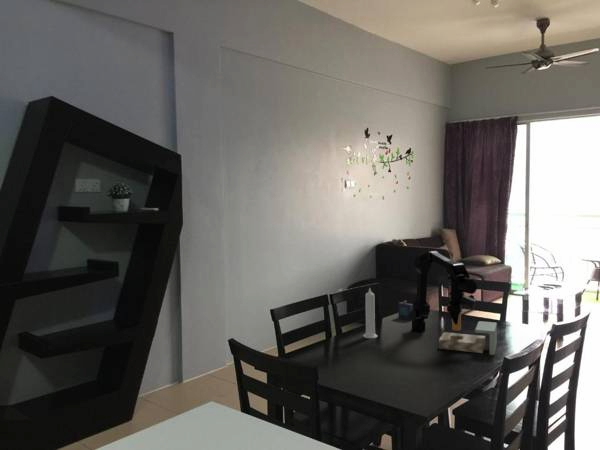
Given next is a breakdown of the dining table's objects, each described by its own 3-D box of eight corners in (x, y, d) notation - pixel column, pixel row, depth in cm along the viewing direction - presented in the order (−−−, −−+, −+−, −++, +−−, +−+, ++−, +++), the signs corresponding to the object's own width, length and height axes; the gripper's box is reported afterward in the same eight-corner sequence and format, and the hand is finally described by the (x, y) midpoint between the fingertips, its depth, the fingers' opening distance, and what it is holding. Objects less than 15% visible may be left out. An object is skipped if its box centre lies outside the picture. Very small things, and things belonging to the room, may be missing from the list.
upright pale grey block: (475, 353, 223) (475, 329, 222) (478, 343, 237) (478, 321, 237) (494, 355, 220) (494, 331, 219) (496, 344, 234) (496, 322, 233)
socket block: (439, 348, 231) (438, 339, 230) (443, 340, 243) (443, 332, 243) (482, 353, 223) (482, 344, 222) (485, 344, 235) (485, 336, 235)
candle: (377, 339, 248) (376, 289, 246) (362, 338, 249) (362, 288, 248) (377, 335, 254) (377, 286, 253) (363, 334, 256) (363, 286, 254)
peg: (451, 330, 233) (451, 308, 232) (452, 327, 236) (452, 307, 236) (460, 330, 231) (460, 309, 230) (461, 328, 235) (461, 307, 234)
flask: (413, 319, 284) (413, 301, 283) (410, 320, 282) (410, 302, 281) (400, 317, 291) (399, 299, 290) (397, 318, 289) (396, 299, 288)
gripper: (472, 295, 221) (472, 329, 222) (476, 287, 237) (476, 319, 238) (446, 293, 225) (446, 327, 226) (452, 286, 242) (452, 317, 243)
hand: (456, 323), depth 233 cm, fingers closed on peg, 4 cm apart
